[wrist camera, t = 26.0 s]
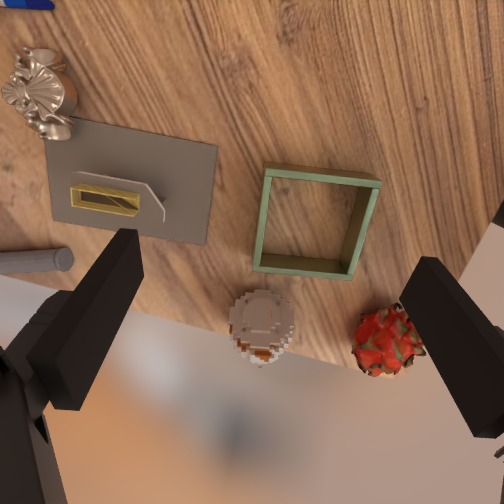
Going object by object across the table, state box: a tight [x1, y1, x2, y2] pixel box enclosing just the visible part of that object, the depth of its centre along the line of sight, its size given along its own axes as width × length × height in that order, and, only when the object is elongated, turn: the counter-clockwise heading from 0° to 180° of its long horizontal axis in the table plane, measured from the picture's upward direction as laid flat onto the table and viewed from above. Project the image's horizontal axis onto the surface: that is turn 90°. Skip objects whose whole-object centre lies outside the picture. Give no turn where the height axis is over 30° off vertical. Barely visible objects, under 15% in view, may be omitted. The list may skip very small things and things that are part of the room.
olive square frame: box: [252, 162, 382, 281], centre depth 34 cm, size 12×12×4 cm
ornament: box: [1, 46, 77, 141], centre depth 28 cm, size 8×7×4 cm
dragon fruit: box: [352, 303, 426, 377], centre depth 40 cm, size 8×8×12 cm
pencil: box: [0, 247, 73, 274], centre depth 36 cm, size 11×3×3 cm, turn 94°
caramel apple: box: [228, 289, 295, 368], centre depth 41 cm, size 8×8×15 cm
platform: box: [44, 117, 218, 246], centre depth 31 cm, size 12×18×7 cm, turn 79°
